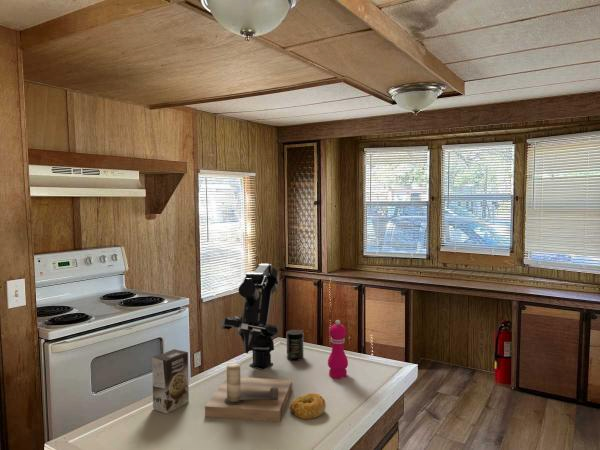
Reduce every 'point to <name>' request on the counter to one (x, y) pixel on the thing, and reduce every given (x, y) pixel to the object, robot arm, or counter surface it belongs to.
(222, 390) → the stool seat
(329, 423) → the counter surface
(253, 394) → the folding leg
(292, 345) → the supplement container
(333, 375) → the pepper mill
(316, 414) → the bagel
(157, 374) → the coffee box
